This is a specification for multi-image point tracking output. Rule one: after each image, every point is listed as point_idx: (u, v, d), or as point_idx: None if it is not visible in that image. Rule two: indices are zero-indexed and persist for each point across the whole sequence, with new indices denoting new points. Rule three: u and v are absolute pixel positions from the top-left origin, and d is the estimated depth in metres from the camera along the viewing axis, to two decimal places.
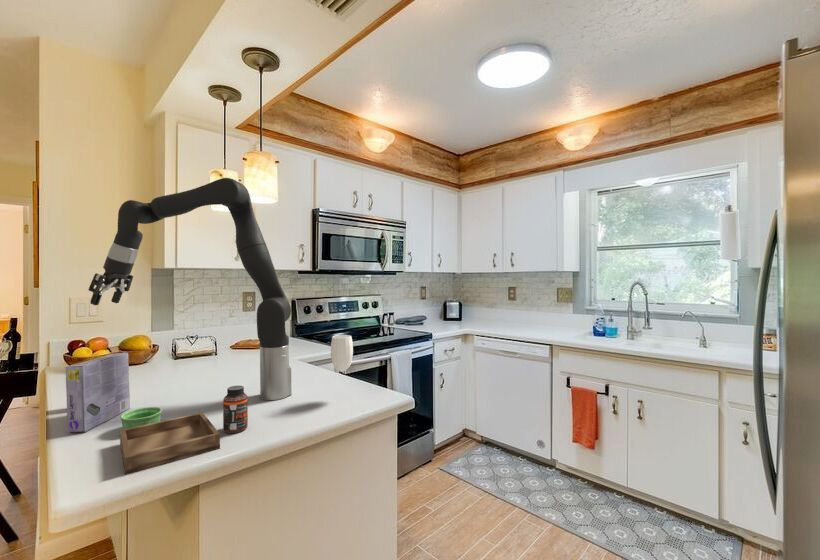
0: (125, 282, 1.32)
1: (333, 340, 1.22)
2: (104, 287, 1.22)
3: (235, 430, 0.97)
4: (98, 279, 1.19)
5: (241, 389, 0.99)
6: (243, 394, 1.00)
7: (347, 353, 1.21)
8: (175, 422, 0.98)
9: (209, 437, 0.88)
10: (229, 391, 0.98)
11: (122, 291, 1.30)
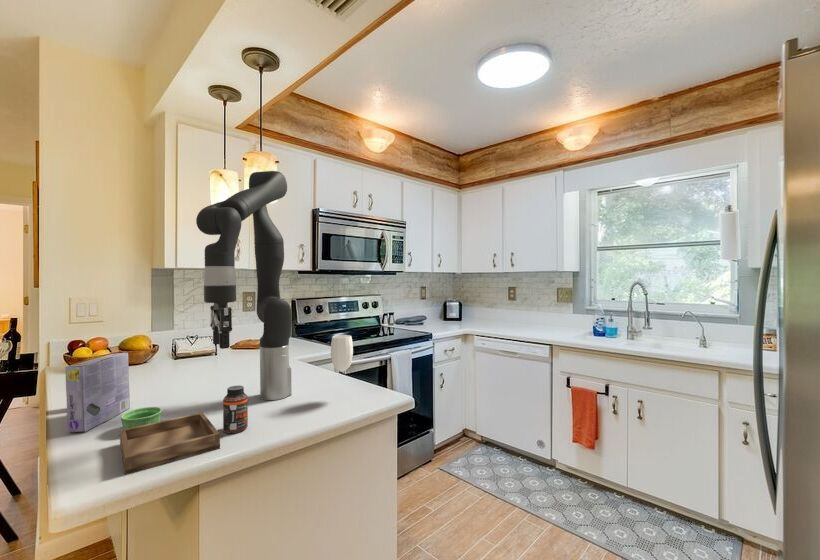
0: None
1: (333, 340, 1.22)
2: (228, 322, 0.96)
3: (235, 430, 0.97)
4: (228, 313, 0.93)
5: (241, 389, 0.99)
6: (243, 394, 1.00)
7: (347, 353, 1.21)
8: (175, 422, 0.98)
9: (209, 437, 0.88)
10: (229, 391, 0.98)
11: None
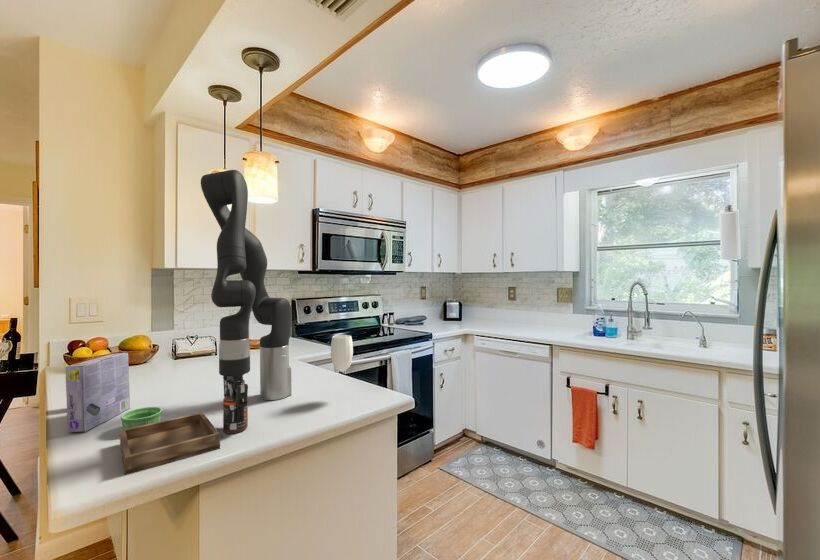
0: None
1: (333, 340, 1.22)
2: None
3: (235, 430, 0.97)
4: (244, 390, 0.95)
5: None
6: None
7: (347, 353, 1.21)
8: (175, 422, 0.98)
9: (209, 437, 0.88)
10: (229, 391, 0.98)
11: None
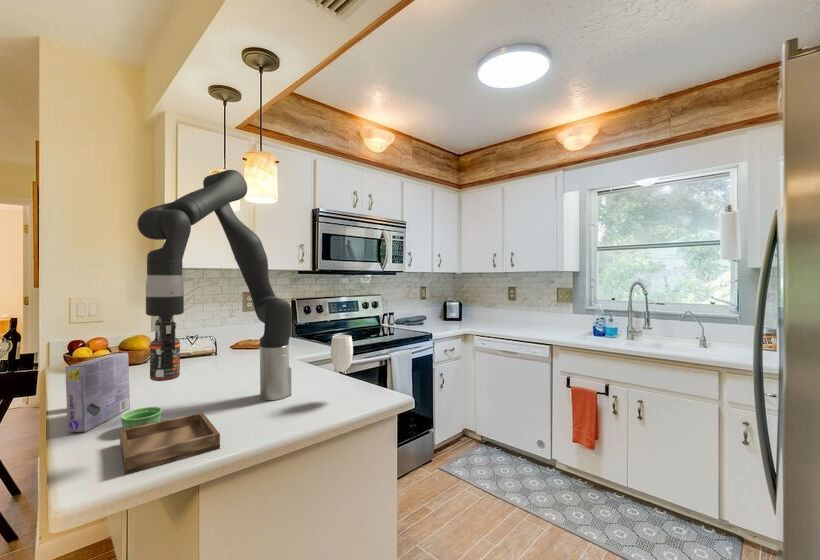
0: None
1: (333, 340, 1.22)
2: (172, 340, 0.87)
3: (162, 378, 0.86)
4: (171, 331, 0.84)
5: None
6: None
7: (347, 353, 1.21)
8: (175, 422, 0.98)
9: (209, 437, 0.88)
10: (156, 334, 0.87)
11: None
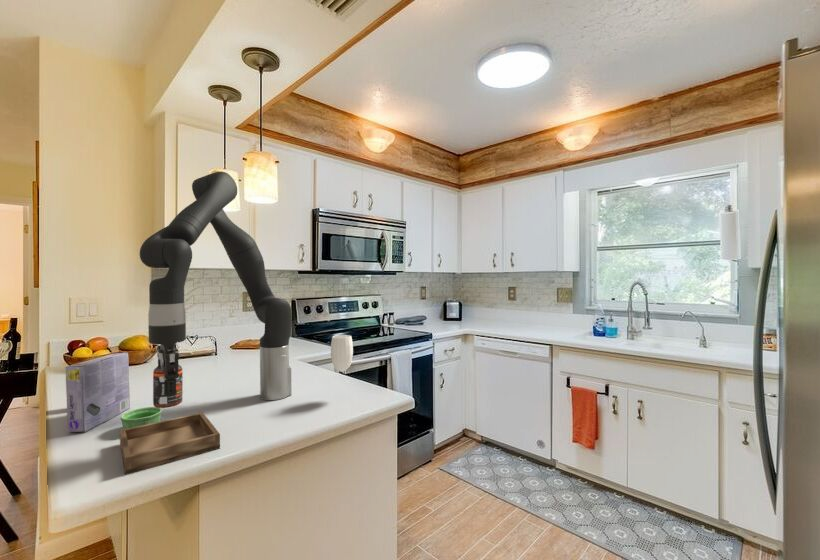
0: None
1: (333, 340, 1.22)
2: None
3: (165, 404, 0.88)
4: (174, 360, 0.85)
5: None
6: None
7: (347, 353, 1.21)
8: (175, 422, 0.98)
9: (209, 437, 0.88)
10: (159, 362, 0.88)
11: None
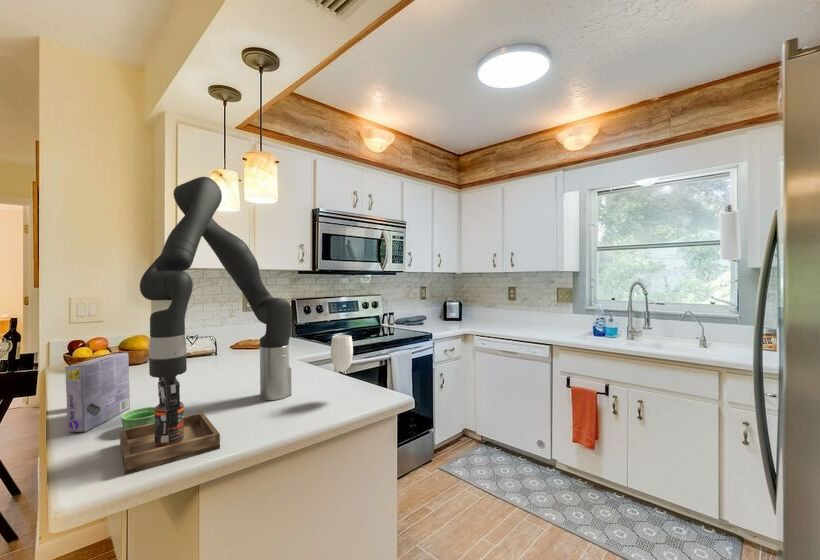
0: None
1: (333, 340, 1.22)
2: None
3: (167, 443, 0.88)
4: (176, 390, 0.85)
5: None
6: None
7: (347, 353, 1.21)
8: None
9: (209, 437, 0.88)
10: (160, 400, 0.89)
11: None
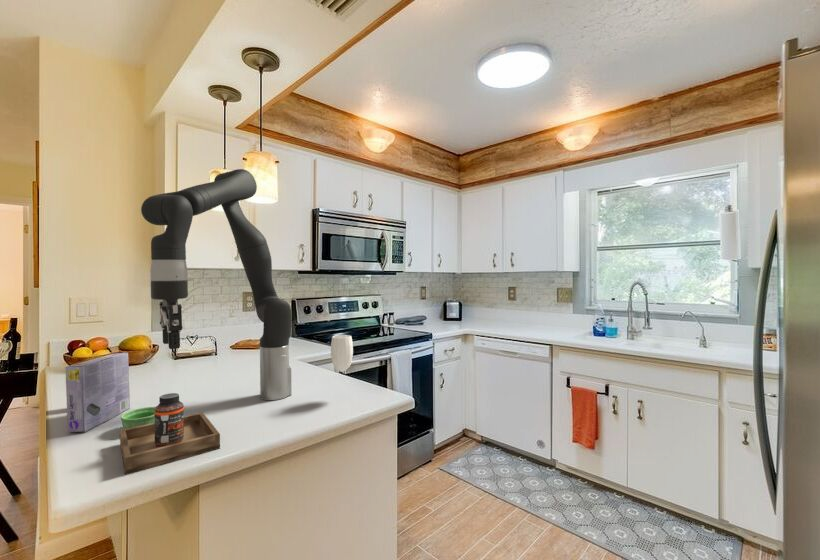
0: None
1: (333, 340, 1.22)
2: (178, 321, 0.88)
3: (167, 443, 0.88)
4: (178, 311, 0.86)
5: (175, 397, 0.90)
6: (178, 403, 0.90)
7: (347, 353, 1.21)
8: None
9: (209, 437, 0.88)
10: (160, 400, 0.89)
11: (173, 324, 0.95)
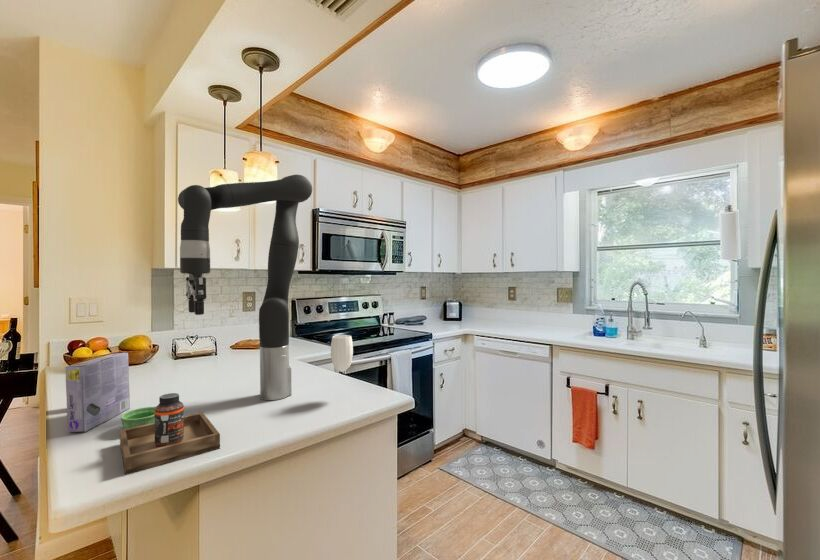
0: None
1: (333, 340, 1.22)
2: (202, 291, 1.05)
3: (167, 443, 0.88)
4: (203, 282, 1.03)
5: (175, 397, 0.90)
6: (178, 403, 0.90)
7: (347, 353, 1.21)
8: None
9: (209, 437, 0.88)
10: (160, 400, 0.89)
11: None
